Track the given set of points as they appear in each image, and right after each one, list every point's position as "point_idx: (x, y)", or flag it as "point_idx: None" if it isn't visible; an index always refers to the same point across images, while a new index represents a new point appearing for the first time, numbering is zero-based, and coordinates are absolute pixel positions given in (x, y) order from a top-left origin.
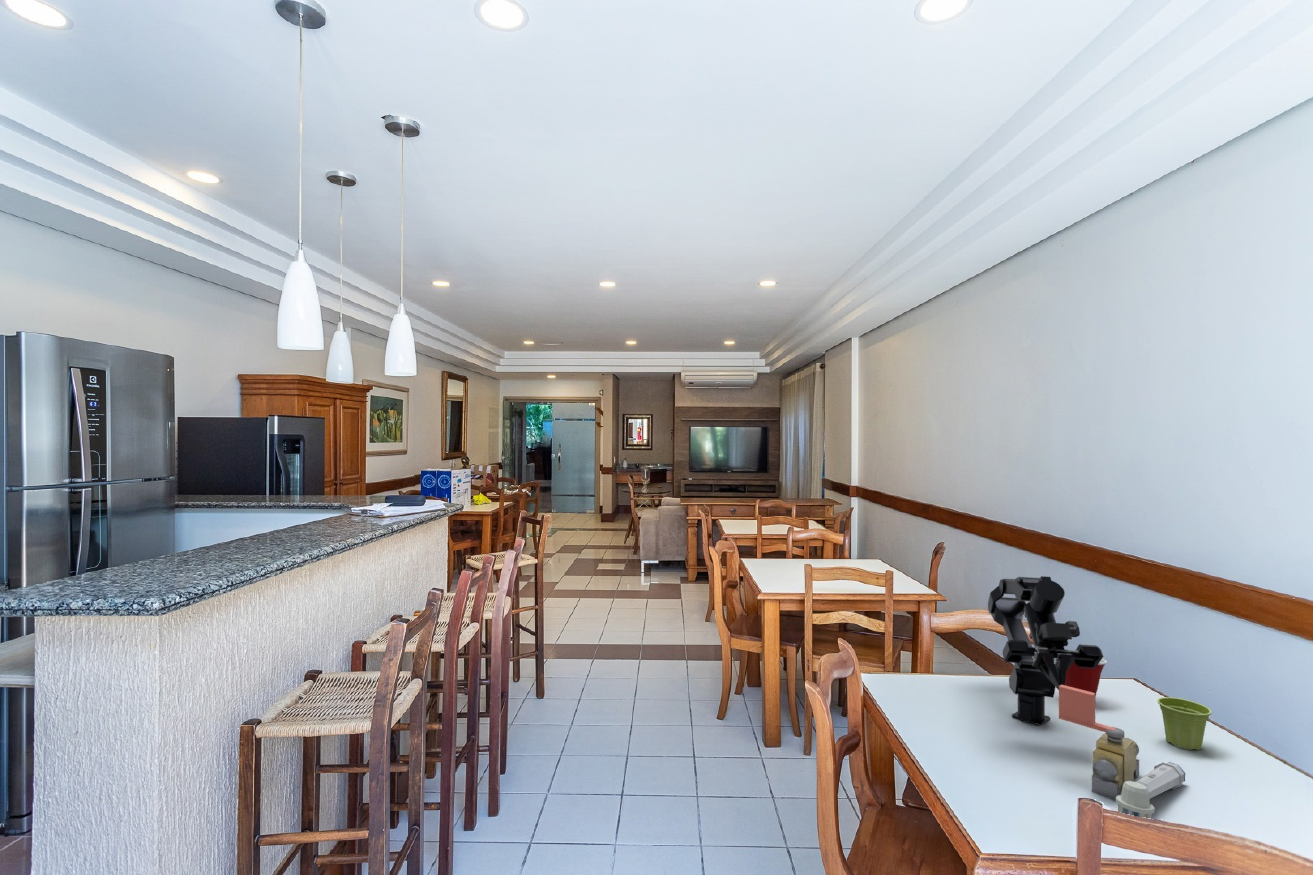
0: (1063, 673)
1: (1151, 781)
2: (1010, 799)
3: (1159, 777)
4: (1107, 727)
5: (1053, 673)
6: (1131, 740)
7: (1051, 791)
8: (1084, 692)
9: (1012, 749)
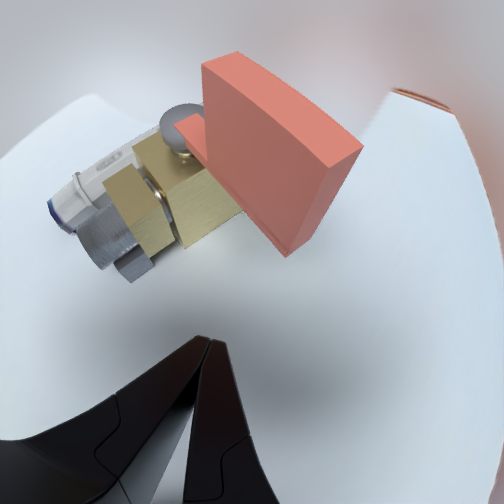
0: (134, 407)
1: (198, 104)
2: (422, 180)
3: (157, 125)
4: (198, 128)
5: (241, 431)
6: (135, 148)
7: (353, 192)
8: (256, 70)
9: (345, 383)
